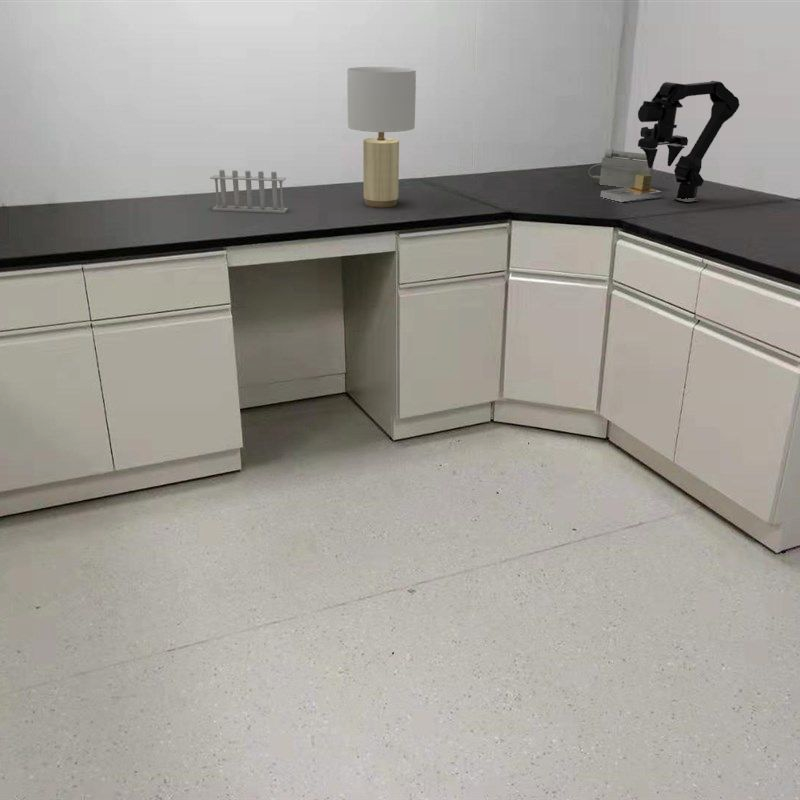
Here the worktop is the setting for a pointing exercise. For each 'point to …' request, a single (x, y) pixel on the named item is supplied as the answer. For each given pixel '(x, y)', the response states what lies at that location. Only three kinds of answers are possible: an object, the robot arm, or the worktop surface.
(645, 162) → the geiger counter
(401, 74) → the lamp
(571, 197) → the worktop surface
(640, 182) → the brass peg
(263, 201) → the test tube rack
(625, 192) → the rail plate
